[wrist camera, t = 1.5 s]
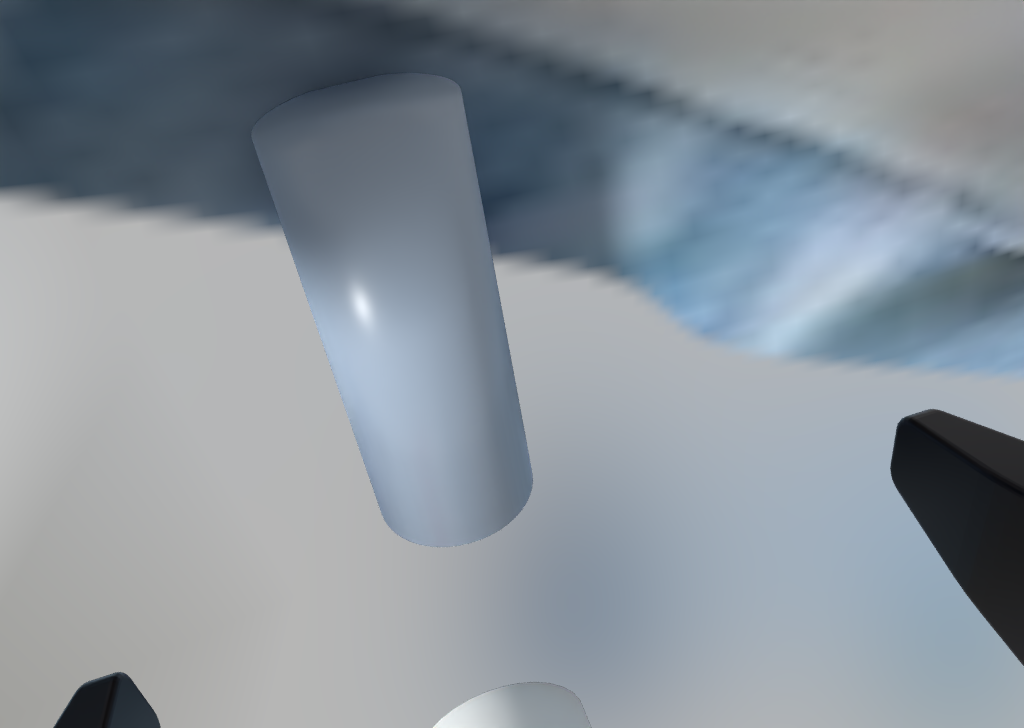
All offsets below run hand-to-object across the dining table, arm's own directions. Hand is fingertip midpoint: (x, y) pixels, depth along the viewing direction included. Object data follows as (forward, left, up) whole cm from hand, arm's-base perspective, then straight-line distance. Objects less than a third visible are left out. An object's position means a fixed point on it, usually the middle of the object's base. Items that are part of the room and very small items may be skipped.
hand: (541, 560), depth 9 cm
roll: (-3, -2, -14) cm, 14 cm away
